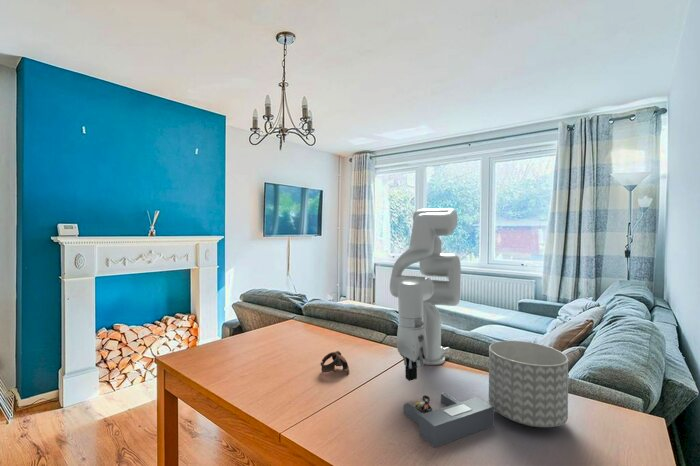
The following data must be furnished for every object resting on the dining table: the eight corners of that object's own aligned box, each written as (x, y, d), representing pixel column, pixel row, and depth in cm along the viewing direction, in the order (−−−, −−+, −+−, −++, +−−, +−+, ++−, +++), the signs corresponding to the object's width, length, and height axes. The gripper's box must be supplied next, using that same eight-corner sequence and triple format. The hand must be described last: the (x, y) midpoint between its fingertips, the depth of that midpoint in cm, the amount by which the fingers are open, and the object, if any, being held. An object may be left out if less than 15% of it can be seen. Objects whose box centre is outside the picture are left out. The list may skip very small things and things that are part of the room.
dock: (450, 399, 101) (451, 381, 101) (493, 425, 88) (493, 405, 88) (396, 415, 92) (396, 396, 92) (434, 447, 79) (434, 425, 79)
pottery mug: (351, 380, 115) (340, 361, 114) (327, 390, 117) (315, 371, 115) (352, 358, 127) (342, 341, 125) (330, 367, 128) (320, 350, 127)
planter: (537, 448, 78) (538, 371, 78) (473, 409, 95) (474, 346, 95) (583, 427, 87) (584, 357, 87) (517, 395, 104) (517, 337, 104)
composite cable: (422, 397, 103) (422, 389, 103) (438, 401, 101) (438, 393, 101) (412, 412, 94) (412, 403, 94) (429, 417, 92) (429, 408, 92)
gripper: (436, 325, 98) (436, 386, 99) (406, 313, 112) (406, 366, 113) (416, 330, 95) (416, 393, 96) (387, 316, 108) (387, 371, 109)
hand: (411, 378), depth 104 cm, fingers closed
